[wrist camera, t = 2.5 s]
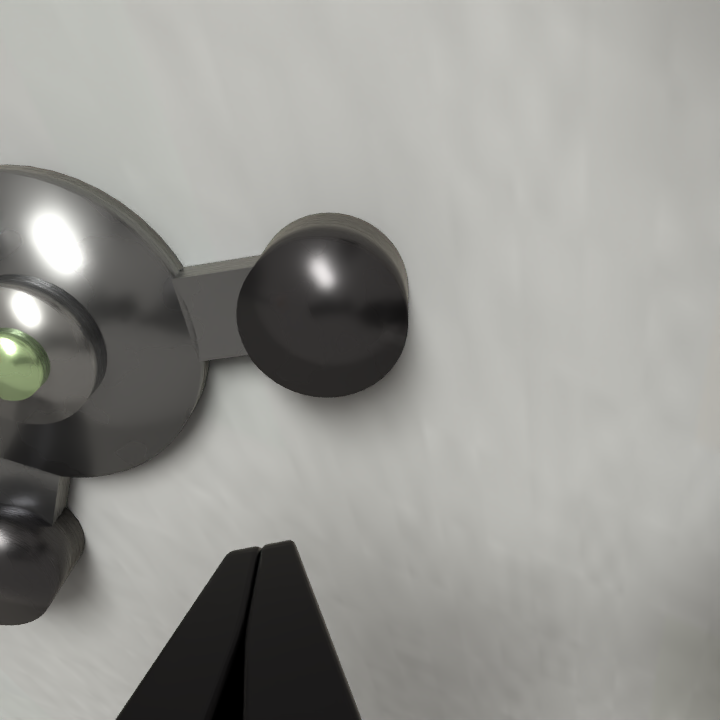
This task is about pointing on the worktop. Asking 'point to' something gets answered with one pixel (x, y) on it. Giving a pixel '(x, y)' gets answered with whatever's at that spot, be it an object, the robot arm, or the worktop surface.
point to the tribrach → (154, 346)
